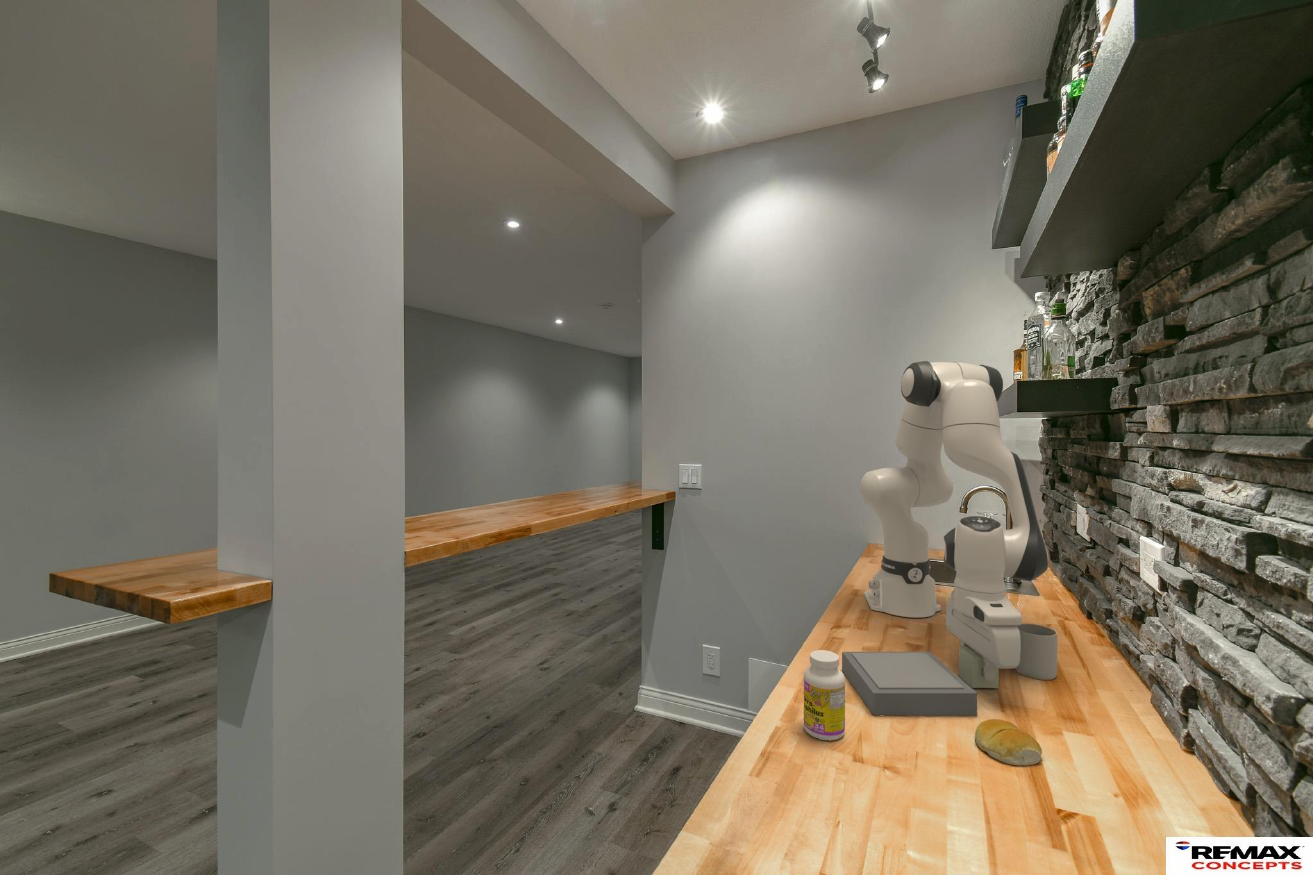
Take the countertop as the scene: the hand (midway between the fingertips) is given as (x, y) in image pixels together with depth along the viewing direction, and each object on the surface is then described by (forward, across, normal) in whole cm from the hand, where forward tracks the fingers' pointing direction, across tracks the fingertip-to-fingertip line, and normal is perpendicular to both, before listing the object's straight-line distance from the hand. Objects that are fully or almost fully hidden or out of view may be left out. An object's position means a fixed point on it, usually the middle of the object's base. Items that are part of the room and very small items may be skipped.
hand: (978, 671), depth 111 cm
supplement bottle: (+3, +17, -35) cm, 39 cm away
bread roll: (+3, +22, -8) cm, 24 cm away
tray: (+2, +3, -16) cm, 16 cm away
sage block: (+2, 0, 0) cm, 2 cm away
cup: (+3, -6, +13) cm, 15 cm away
